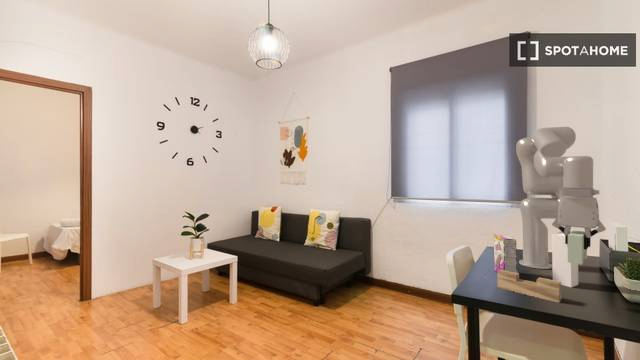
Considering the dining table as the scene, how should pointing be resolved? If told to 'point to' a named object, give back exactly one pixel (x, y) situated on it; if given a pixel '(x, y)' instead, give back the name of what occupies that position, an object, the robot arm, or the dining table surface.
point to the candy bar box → (505, 253)
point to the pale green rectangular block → (576, 247)
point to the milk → (563, 262)
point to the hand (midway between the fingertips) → (577, 247)
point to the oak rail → (529, 286)
